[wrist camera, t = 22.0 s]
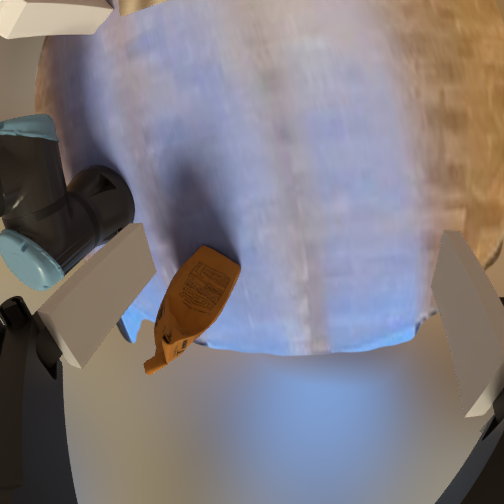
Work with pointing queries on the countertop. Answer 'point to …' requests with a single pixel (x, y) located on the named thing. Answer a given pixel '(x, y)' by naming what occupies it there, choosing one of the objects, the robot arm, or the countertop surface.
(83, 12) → the milk
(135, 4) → the socket board
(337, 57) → the countertop surface
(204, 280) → the coffee package
